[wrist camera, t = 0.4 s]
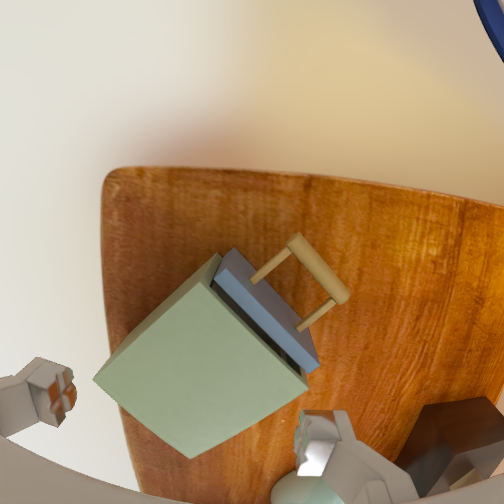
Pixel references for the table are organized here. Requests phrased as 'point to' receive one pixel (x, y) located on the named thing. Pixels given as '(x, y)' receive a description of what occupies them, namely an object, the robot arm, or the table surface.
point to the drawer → (277, 300)
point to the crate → (453, 444)
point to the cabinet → (198, 370)
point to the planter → (303, 491)
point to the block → (467, 480)
